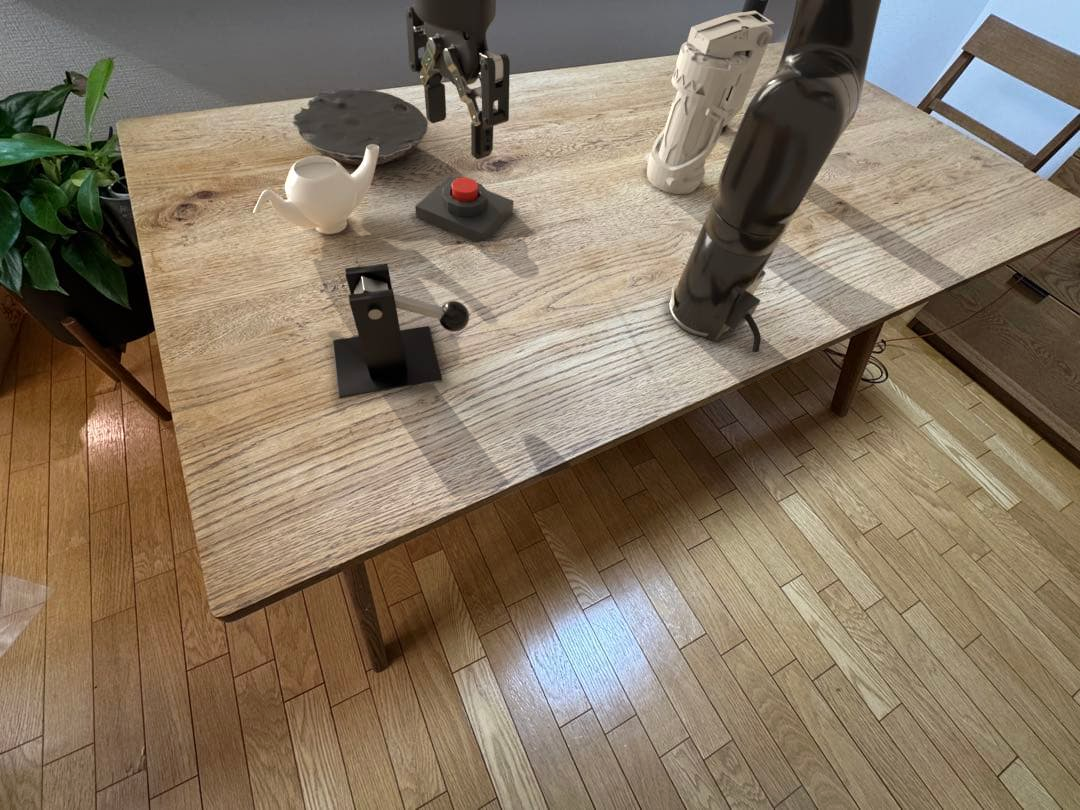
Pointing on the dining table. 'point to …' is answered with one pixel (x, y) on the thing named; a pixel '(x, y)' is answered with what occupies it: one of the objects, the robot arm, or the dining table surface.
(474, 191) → the button
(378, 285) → the lever
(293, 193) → the teapot
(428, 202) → the control block
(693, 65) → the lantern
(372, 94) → the board
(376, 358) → the bracket
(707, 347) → the dining table surface
